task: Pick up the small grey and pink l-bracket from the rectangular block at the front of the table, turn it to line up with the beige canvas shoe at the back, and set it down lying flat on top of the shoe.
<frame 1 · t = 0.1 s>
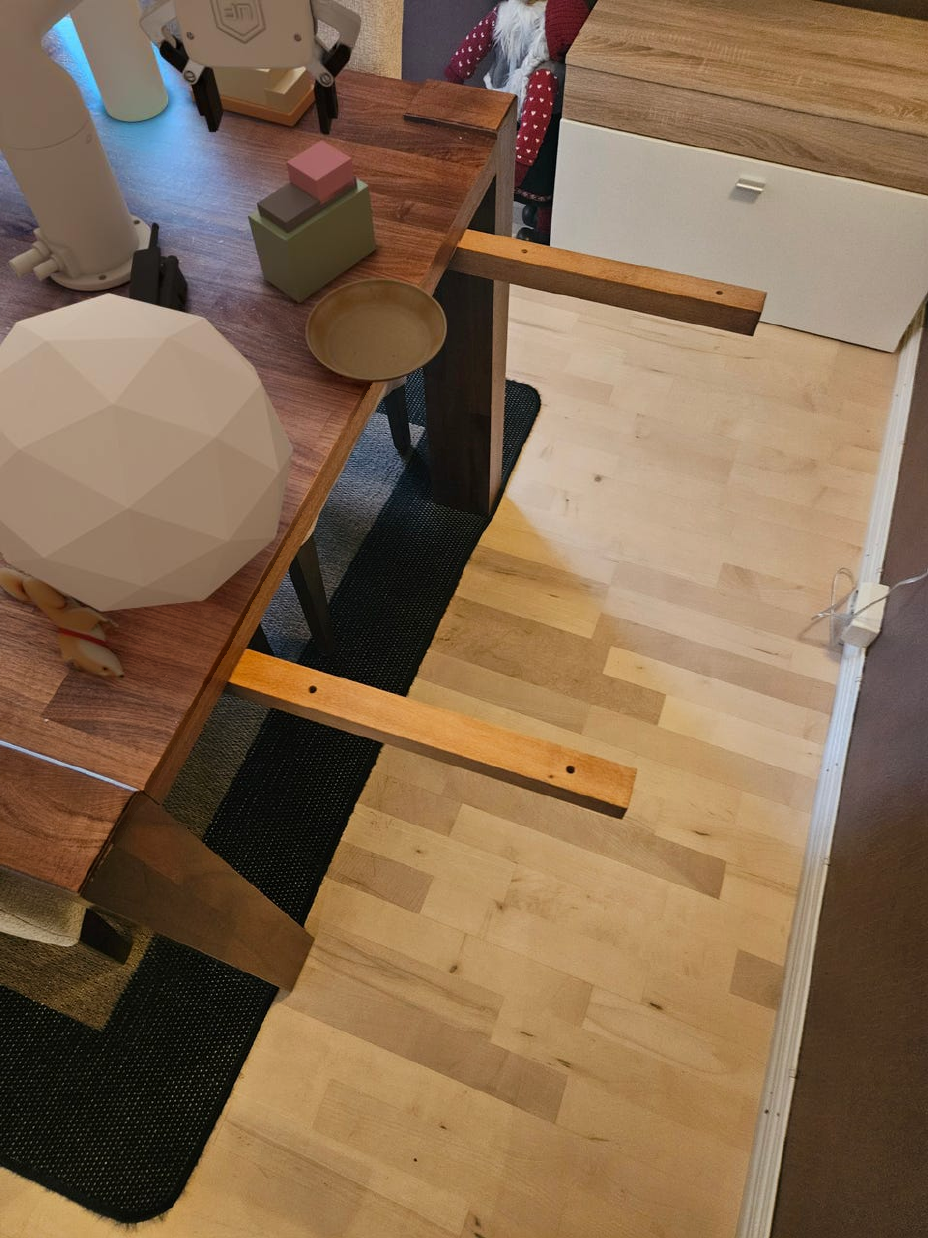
hand: (271, 123, 73), 22 cm above the table, tool pointing down, fingers open, 9 cm apart
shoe: (255, 99, 112), on the table
figurine: (83, 308, 89), point 3 cm above the table
grey and pink l-bracket: (308, 199, 89), point 8 cm above the table, touching rectangular block
toy: (77, 594, 73), point 2 cm above the table
cup: (137, 104, 112), on the table
plant saucer: (378, 346, 90), on the table
geometric shape: (129, 352, 74), point 12 cm above the table
rectangular block: (320, 263, 96), on the table
walkie-talkie: (149, 349, 87), point 3 cm above the table
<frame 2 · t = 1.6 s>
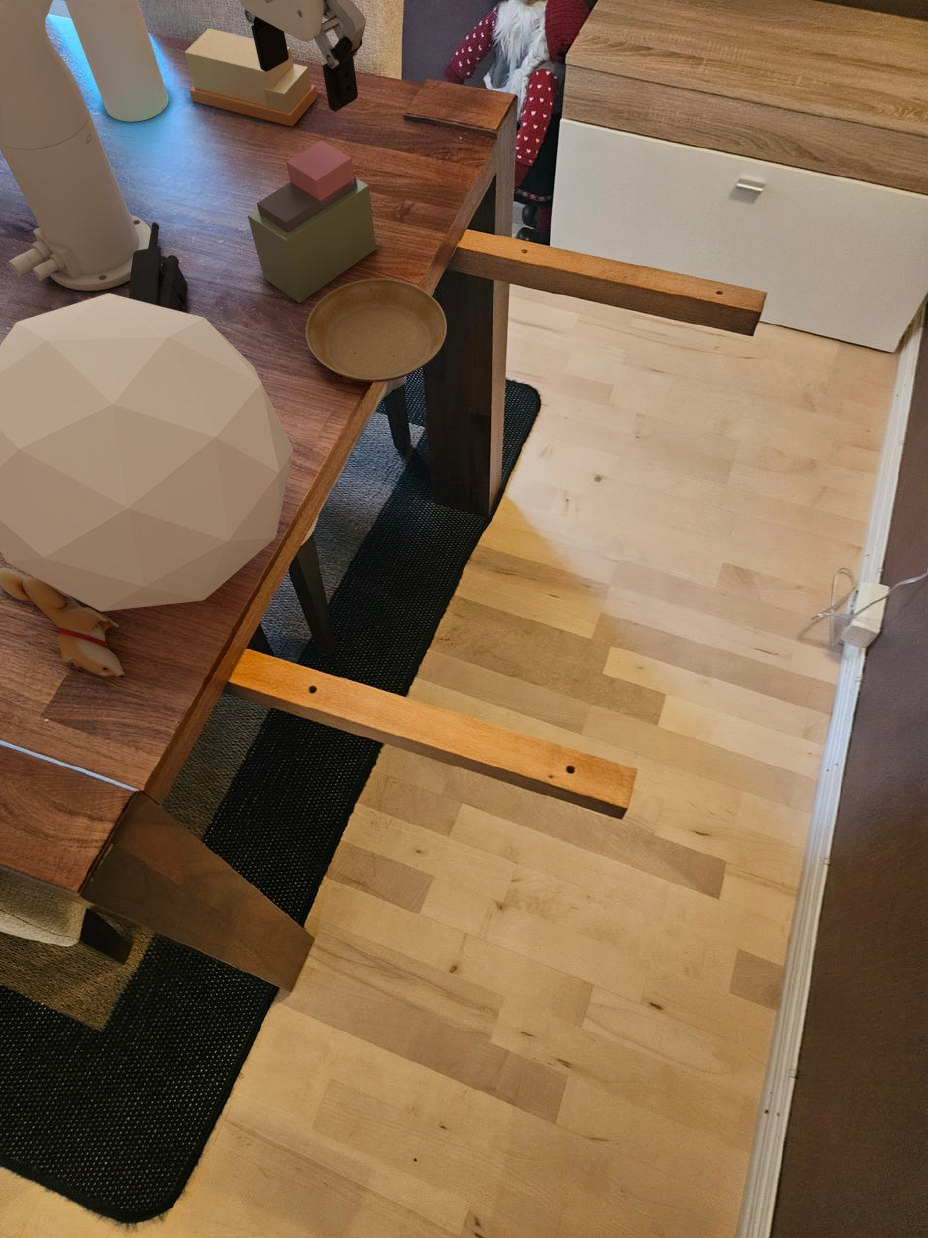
hand: (309, 83, 80), 19 cm above the table, tool pointing down, fingers open, 9 cm apart
nothing on the table moved.
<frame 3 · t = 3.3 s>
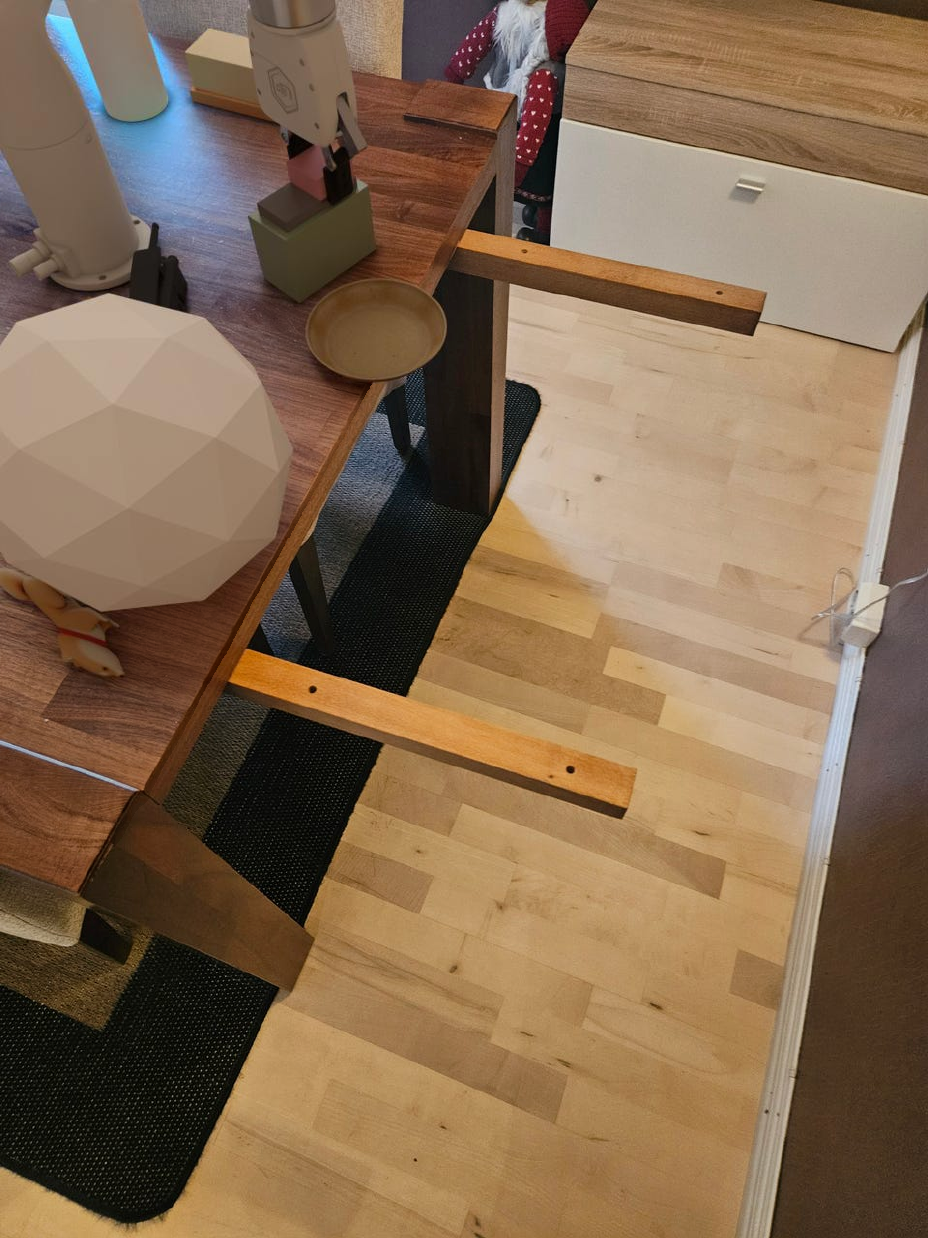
hand: (323, 185, 90), 9 cm above the table, tool pointing down, fingers closed on grey and pink l-bracket, 4 cm apart
grey and pink l-bracket: (308, 199, 89), point 8 cm above the table, touching gripper, rectangular block
everything else where it was.
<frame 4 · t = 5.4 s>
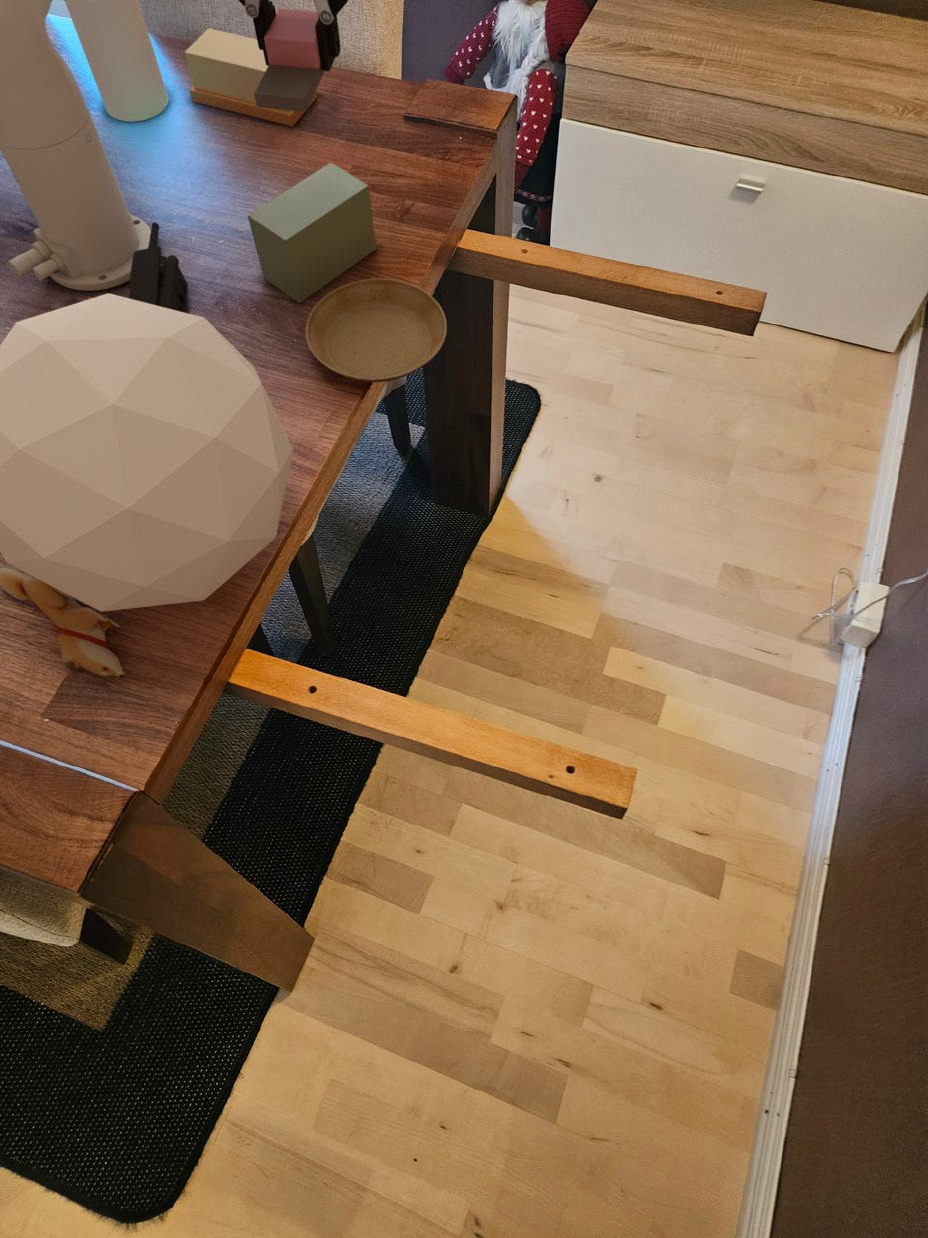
hand: (301, 58, 78), 21 cm above the table, tool pointing down, fingers closed on grey and pink l-bracket, 4 cm apart
grey and pink l-bracket: (296, 77, 78), point 21 cm above the table, touching gripper
everything else where it was.
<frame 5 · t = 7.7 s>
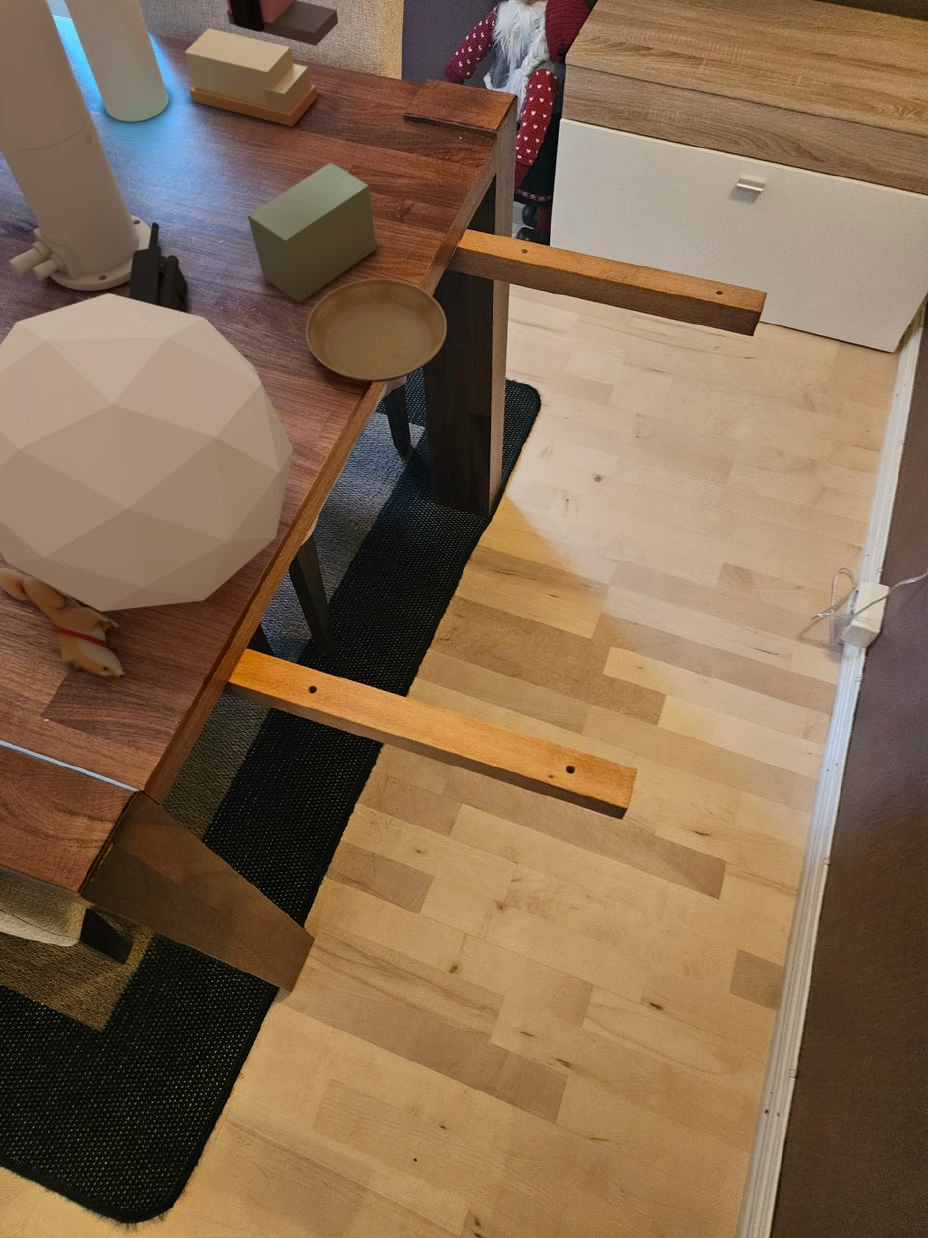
hand: (263, 11, 85), 20 cm above the table, tool pointing down, fingers closed on grey and pink l-bracket, 4 cm apart
grey and pink l-bracket: (284, 23, 85), point 19 cm above the table, touching gripper
everything else where it was.
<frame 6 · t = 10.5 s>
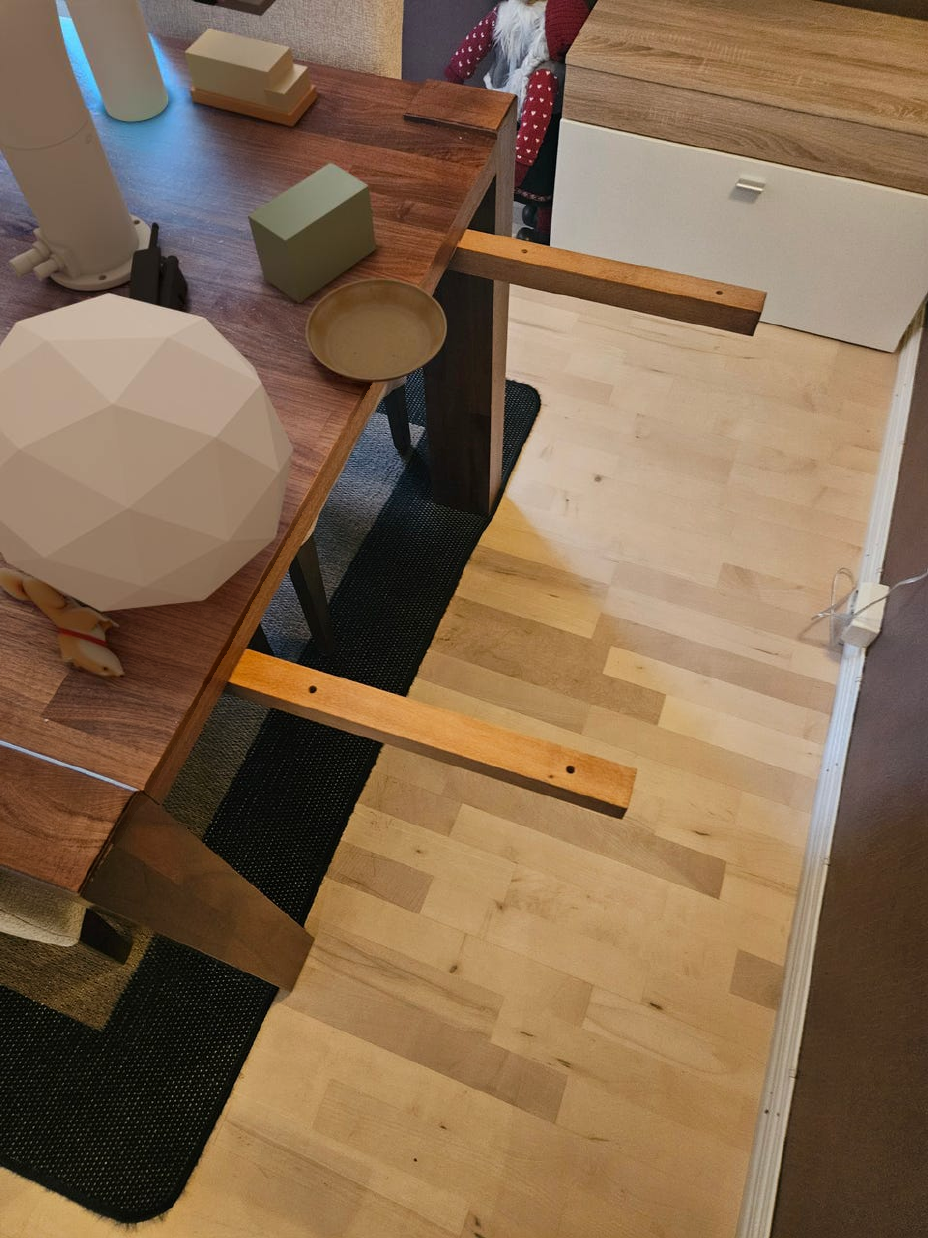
when the fingers open (7 cm above the table, at t = 12.3 s): grey and pink l-bracket stays where it is, resting on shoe.
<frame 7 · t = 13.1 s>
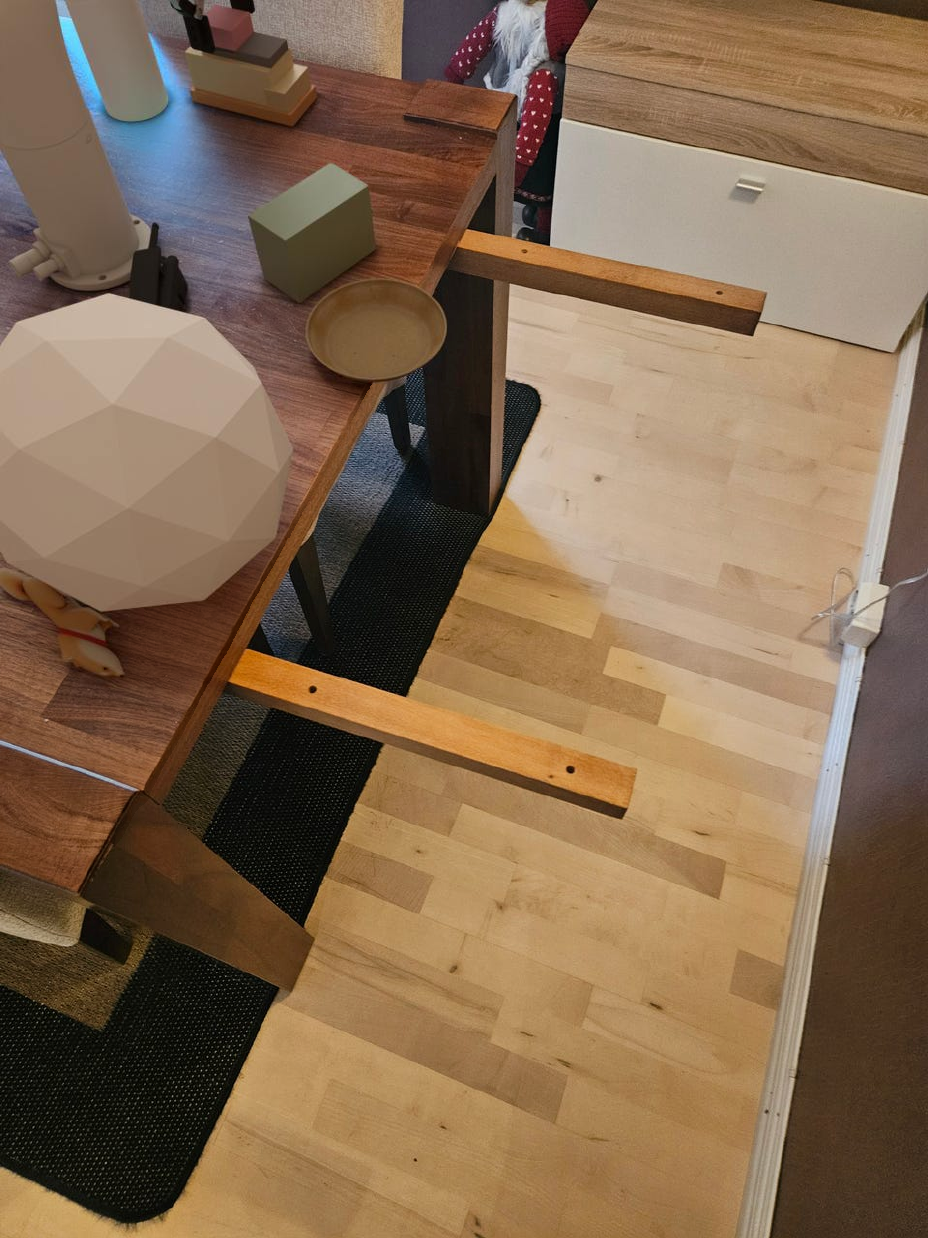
hand: (224, 29, 105), 8 cm above the table, tool pointing down, fingers open, 9 cm apart
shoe: (255, 99, 112), on the table, touching grey and pink l-bracket
grey and pink l-bracket: (245, 50, 106), point 6 cm above the table, touching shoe
everything else where it was.
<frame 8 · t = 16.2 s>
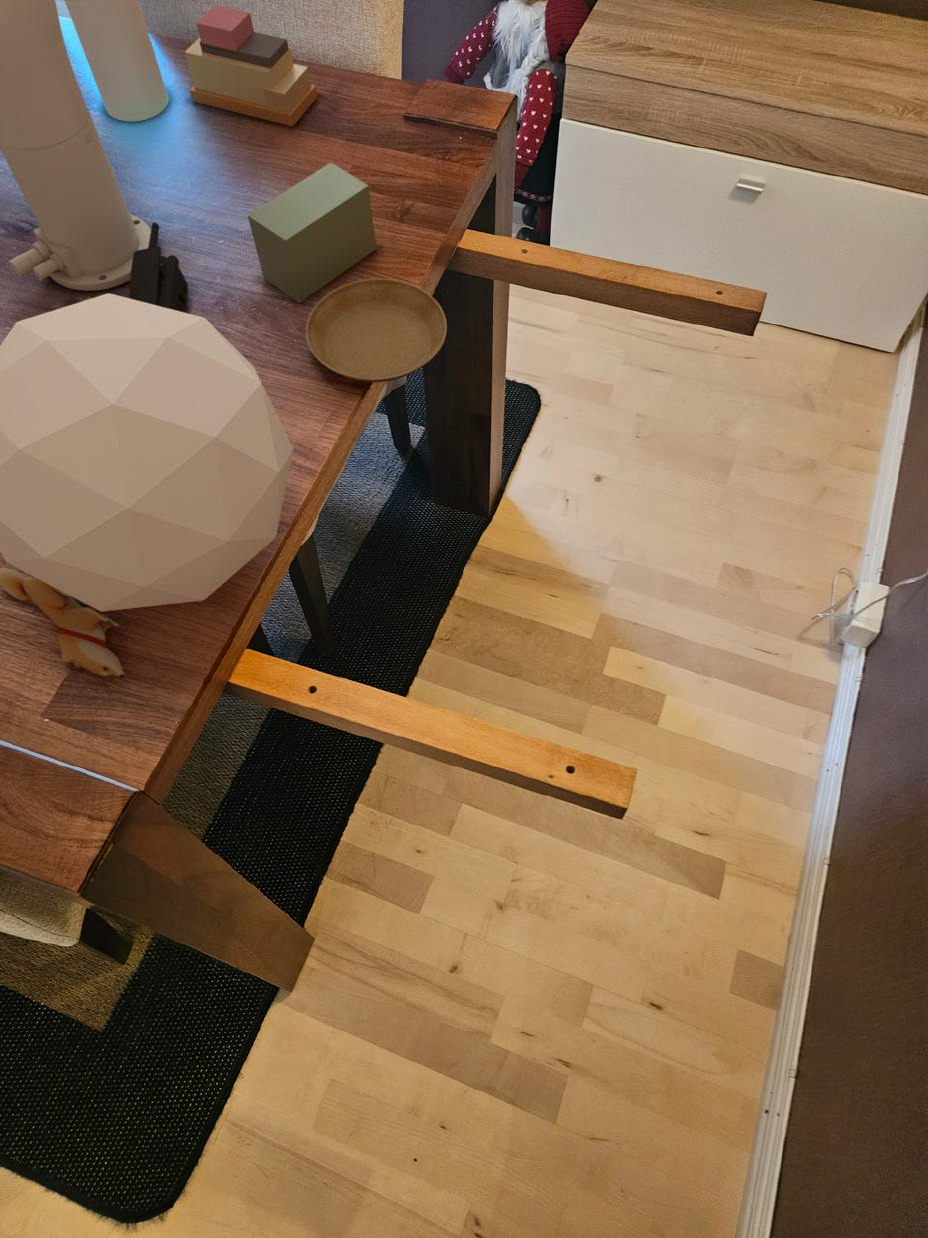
nothing on the table moved.
at the end: grey and pink l-bracket 0.2 cm off-centre on the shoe, point 6.0 cm above the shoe's base; grey and pink l-bracket tilted 0°; grey and pink l-bracket touching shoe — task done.
